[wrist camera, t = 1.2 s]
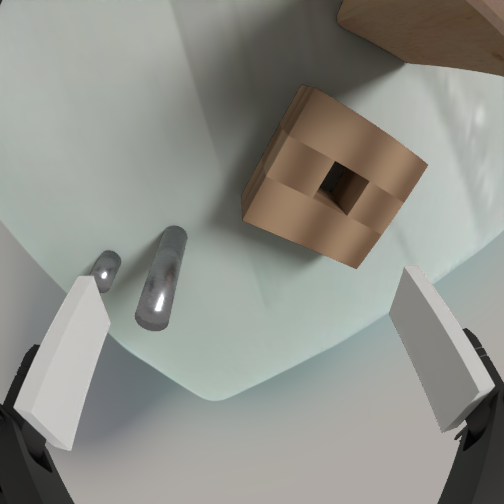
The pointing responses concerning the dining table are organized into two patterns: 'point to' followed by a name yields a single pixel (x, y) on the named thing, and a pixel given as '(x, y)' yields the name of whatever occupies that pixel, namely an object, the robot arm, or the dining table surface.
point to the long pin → (162, 281)
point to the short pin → (106, 270)
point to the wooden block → (432, 31)
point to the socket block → (315, 170)
